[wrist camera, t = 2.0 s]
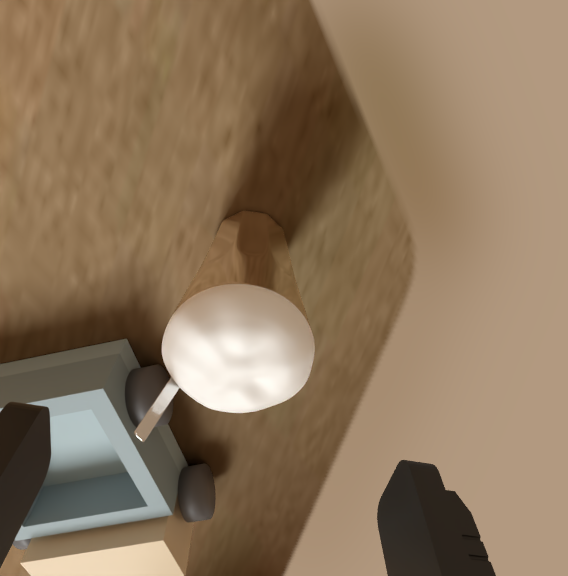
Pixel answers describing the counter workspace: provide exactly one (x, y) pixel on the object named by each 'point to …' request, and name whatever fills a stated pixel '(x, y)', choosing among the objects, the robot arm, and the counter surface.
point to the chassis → (106, 468)
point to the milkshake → (238, 325)
